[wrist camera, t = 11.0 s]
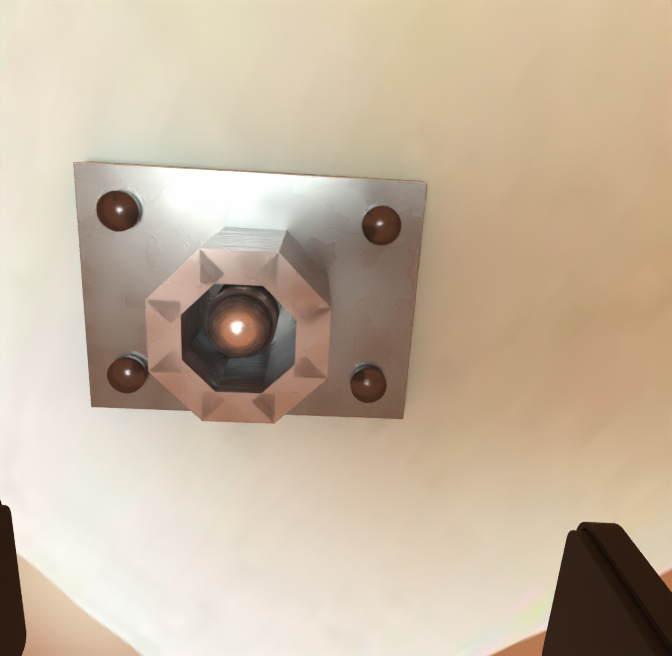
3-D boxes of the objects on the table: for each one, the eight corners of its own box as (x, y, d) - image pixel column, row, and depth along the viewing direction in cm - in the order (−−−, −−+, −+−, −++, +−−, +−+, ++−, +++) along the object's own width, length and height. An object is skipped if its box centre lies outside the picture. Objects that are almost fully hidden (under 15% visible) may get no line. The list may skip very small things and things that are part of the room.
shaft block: (421, 181, 28) (452, 191, 22) (399, 406, 32) (420, 473, 25) (86, 161, 27) (14, 166, 21) (101, 394, 31) (44, 460, 24)
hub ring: (330, 232, 27) (333, 254, 21) (323, 370, 29) (324, 425, 24) (179, 224, 27) (142, 245, 21) (183, 365, 29) (150, 419, 23)
